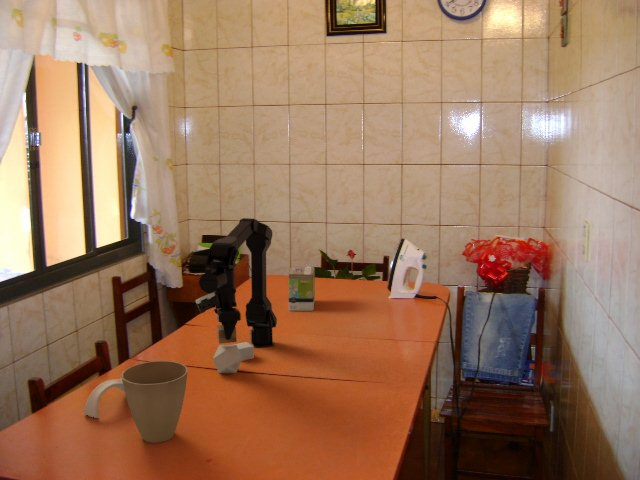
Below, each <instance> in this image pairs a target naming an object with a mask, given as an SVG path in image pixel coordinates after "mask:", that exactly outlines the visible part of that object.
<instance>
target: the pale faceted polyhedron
mask: <svg viewBox="0 0 640 480" xmlns="http://www.w3.org/2000/svg"><path fill="white" fill-rule="evenodd" d="M212 361H213V363H214V366H215V368H216V370H217V372H218V374H237V373H238V370H239V368H240V366H241V363H242V361H243V360H242V357H241V354H240V352H239V350H238V347H237V345H233V344H219V345H218V346H217V348H216V351H215V353H214V355H213V358H212Z"/></svg>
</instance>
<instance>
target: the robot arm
mask: <svg viewBox="0 0 640 480" xmlns="http://www.w3.org/2000/svg"><path fill="white" fill-rule="evenodd" d="M272 238H273V230H272V228H271V227H270V226H269V225H267V224H265V223H264V222H263V223H262V222H260V221H259V220H258V219H255V218H251V217H250V218H249V217H248V218H247V217H246V218H245V217H243V218H240V219H239V223H238V224H237V225H236V226H235V227H234V228H233V229H232V230H231V231H230V232H229V233H228V234H227V235H226V236H225V237H222V238H217V240H214V241H213V242H212V244H211V245H210V246H209V248H208V253H207V256H206V259H205V264H204V268H205V269H204V273H203V274H202V275H200V278H199V279H198V284H199V287H200V289H201V290H202V291H203V293H206V294H205V295H204V296H200V297H199V298H196V299H195V303H196V306H197V308H198V311H199V312H200V314H203V313H206V311H208V310H211V309H213V311H214V313H215V314H216V316H217V318H216V319H217V321H218V323H221V324H220V325H223V328H224V332H225V337H226V340H230V338H231V336H232V333H233V331H234V328H235V327H236V326H237V323H238V321H239V322H240V321H241V320H242V318H241V317H242V315H241V314H242V313H241V312H240V310H239V309H238V308H237V306H238V305H237V302H236V294H237V288H236V278H235V277H236V276H235V267H237V263H236V261H237V259H238V256H239V255H240V251H239V249H240V247H241V246H242V245H243V244H244V242H245V245H246V247H247V249H248V251H249V252H250V264H251V265H250V266H251V268H250V269H251V271H250V272H251V274H250V275H251V278H250V279H251V281H250V282H251V284H250V285H251V298H250V299H249V301H248V302H247V303H246V305H245V320H246V325H247V327H248V328H249V327H251V329H250V331H249V332H250V344H251V345H252V346H253V347H254V348H260V347H270V346H271V347H272V346H274V342H273V329H274V328H276V327H277V322H278V318H277V316H276V314H275V312H274V311H273V307H272V305H273V304H272V302H271V301H270V300H269V298H268V296H267V252H268V250H269V249H270V246H271V244H272V240H273V239H272ZM214 308H215V309H214Z"/></svg>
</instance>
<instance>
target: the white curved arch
mask: <svg viewBox="0 0 640 480" xmlns="http://www.w3.org/2000/svg"><path fill="white" fill-rule="evenodd" d="M112 388H116V389H118V390H120V391H121V392H123V393H124V394H125V390H124V386H123V381H122V377H121V378H118V379H117V378H116V379H108V380H106V381H103V382H102V383H100V384H99V385H97V386H96V387H95V388H94V389H93V390H92V391H91V393H90V394H89V396H88V397H87V400H86V403H85V405H84V411H83V412H84V415H85V416H87V415H88V416H87V417H91V418H93V417H94V418H93V419H98V418H99V403H100V400H101V397H102V396H103V395H104V393H106V392H107V391H108V390H109V389H112Z"/></svg>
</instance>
